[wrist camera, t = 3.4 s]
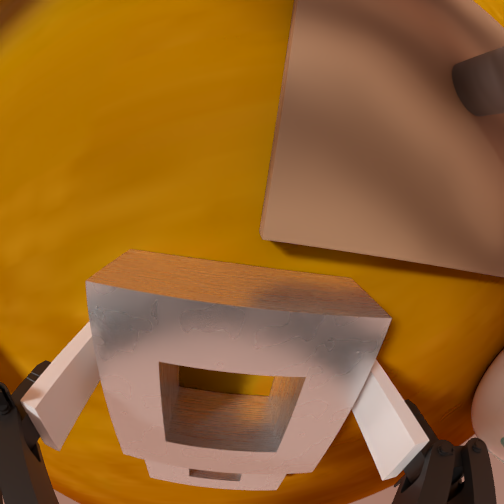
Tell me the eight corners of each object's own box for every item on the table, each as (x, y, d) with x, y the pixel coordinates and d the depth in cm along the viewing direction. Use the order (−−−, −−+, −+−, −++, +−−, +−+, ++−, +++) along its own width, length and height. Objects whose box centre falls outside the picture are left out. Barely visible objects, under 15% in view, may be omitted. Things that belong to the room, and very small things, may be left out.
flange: (130, 249, 11) (85, 280, 7) (350, 277, 12) (391, 318, 8) (151, 457, 15) (142, 496, 11) (277, 470, 16) (282, 509, 12)
